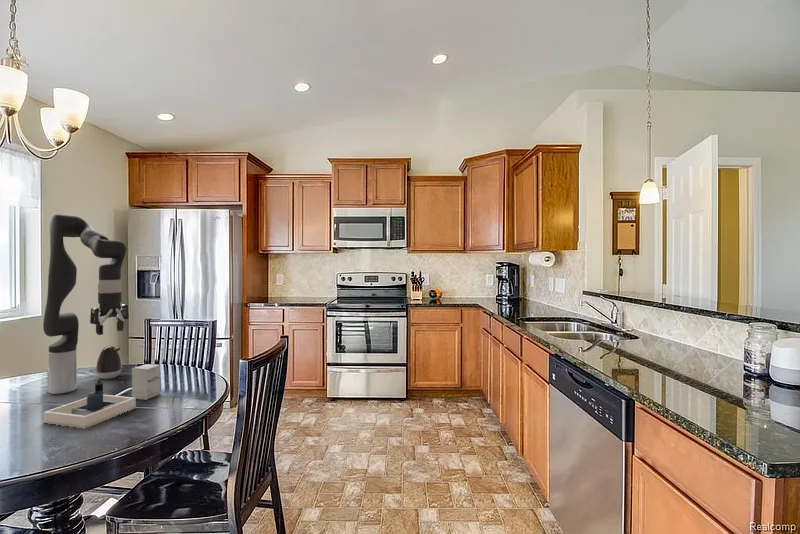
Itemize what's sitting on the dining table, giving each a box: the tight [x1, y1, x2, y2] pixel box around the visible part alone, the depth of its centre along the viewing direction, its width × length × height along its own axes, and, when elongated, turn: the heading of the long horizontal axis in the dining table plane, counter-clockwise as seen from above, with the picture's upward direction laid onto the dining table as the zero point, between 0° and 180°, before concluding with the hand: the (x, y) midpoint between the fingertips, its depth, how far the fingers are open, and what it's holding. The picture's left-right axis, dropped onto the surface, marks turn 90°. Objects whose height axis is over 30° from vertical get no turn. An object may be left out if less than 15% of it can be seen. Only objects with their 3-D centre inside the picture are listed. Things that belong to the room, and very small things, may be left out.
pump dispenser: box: [95, 345, 123, 380], centre depth 198 cm, size 10×10×15 cm
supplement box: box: [131, 363, 161, 401], centre depth 171 cm, size 7×7×13 cm
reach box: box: [42, 393, 137, 430], centre depth 150 cm, size 18×20×4 cm
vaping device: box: [86, 379, 104, 411], centre depth 149 cm, size 3×5×12 cm, turn 161°
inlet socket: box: [72, 400, 120, 416], centre depth 150 cm, size 10×10×3 cm
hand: (110, 332), depth 161 cm, fingers open, 8 cm apart
